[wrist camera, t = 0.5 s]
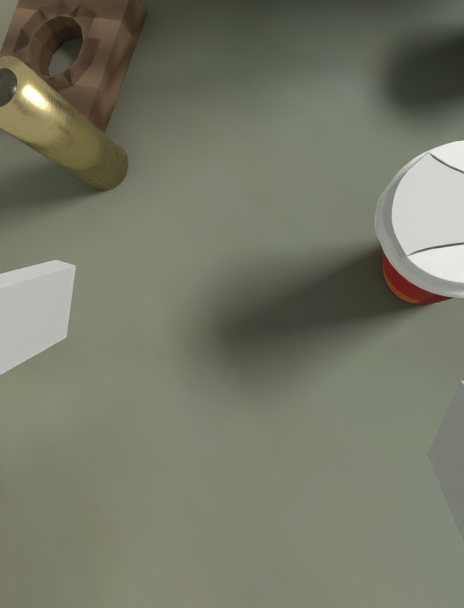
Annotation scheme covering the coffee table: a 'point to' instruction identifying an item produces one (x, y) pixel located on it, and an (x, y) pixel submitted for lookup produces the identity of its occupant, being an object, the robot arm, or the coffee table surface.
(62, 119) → the cylinder
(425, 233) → the coffee cup
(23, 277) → the robot arm
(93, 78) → the jig plate
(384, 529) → the coffee table surface
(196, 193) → the coffee table surface
